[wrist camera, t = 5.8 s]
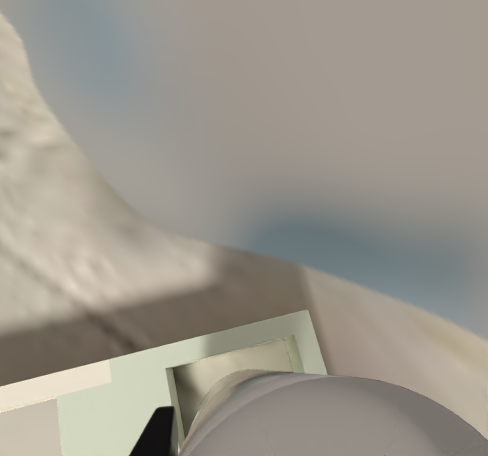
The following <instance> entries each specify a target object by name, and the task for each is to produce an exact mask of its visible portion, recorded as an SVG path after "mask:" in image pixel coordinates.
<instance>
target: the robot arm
mask: <svg viewBox="0 0 488 456" xmlns="http://www.w3.org/2000/svg"><path fill="white" fill-rule="evenodd" d="M129 456H178V426H177V418H176V410H175V407H174V406H162V407H158V408H156V409H155V411H154V412H153V414H152V416H151V418H150V419H149V421H148V423H147V425H146V426H145V428H144V430H143V432H142V433H141V435H140V437H139V439H138V440H137V442H136V444H135V446H134V447H133V449H132V451H131V453H130V454H129Z"/></svg>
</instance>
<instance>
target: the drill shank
mask: <svg viewBox="0 0 488 456" xmlns="http://www.w3.org/2000/svg"><path fill="white" fill-rule="evenodd" d="M178 456H488V440H487V439H486V438H485V437H484V436H482V435H481V434H480V433H479V432H478V431H477V430H476V429H475V428H474V427H472V426H471V425H470V424H468V423H467V422H466V421H464V420H463V419H462V418H460V417H459V416H457V415H456V414H455V413H453V412H452V411H450V410H449V409H447V408H445V407H443V406H442V405H440V404H438V403H436V402H435V401H433V400H431V399H430V398H428V397H426V396H423V395H421V394H418V393H416V392H414V391H411V390H409V389H406V388H404V387H401V386H397V385H394V384H390V383H386V382H382V381H379V380H372V379H365V378H357V377H347V376H334V375H321V374H308V373H296V372H283V371H270V370H257V369H247V370H241V371H237V372H234V373H232V374H230V375H227V376H226V377H224V378H222V379H221V380H220V381H218V382H217V383H216V384H215V385H214V386H213V387H212V388H211V389H210V390H209V392H208V393H207V394H206V396H205V397H204V399H203V401H202V403H201V405H200V407H199V409H198V411H197V414H196V416H195V418H194V420H193V423H192V425H191V427H190V429H189V432H188V434H187V436H186V438H185V441H184V443H183V445H182V447H181V449H180V452H179V454H178Z"/></svg>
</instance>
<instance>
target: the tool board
mask: <svg viewBox="0 0 488 456" xmlns="http://www.w3.org/2000/svg"><path fill="white" fill-rule="evenodd" d="M281 339H284V340H285V343H286V347H287V351H288V354H289V358H290V362H291V365H292V369H293V372H296V373H308V374H321V375H327V371H326V368H325V365H324V361H323V358H322V355H321V351H320V348H319V344H318V341H317V338H316V334H315V331H314V328H313V324H312V321H311V318H310V314H309V311H308V309H306V310H302V311H298V312H294V313H290V314H286V315H282V316H278V317H274V318H270V319H266V320H262V321H258V322H254V323H250V324H247V325H243V326H239V327H235V328H231V329H227V330H223V331H219V332H215V333H211V334H207V335H203V336H199V337H195V338H191V339H187V340H183V341H179V342H175V343H171V344H167V345H163V346H159V347H155V348H151V349H147V350H143V351H139V352H135V353H132V354H128V355H124V356H120V357H116V358H112V359H108V360H104V361H100V362H96V363H92V364H88V365H84V366H80V367H76V368H72V369H68V370H64V371H60V372H56V373H52V374H48V375H44V376H40V377H36V378H32V379H28V380H24V381H20V382H17V383H13V384H9V385H5V386H1V387H0V413H1V412H5V411H9V410H13V409H16V408H20V407H24V406H28V405H32V404H36V403H39V402H43V401H47V400H51V399H55V398H56V399H57V410H58V421H59V431H60V442H61V453H62V456H129V454H130V453H131V451H132V449H133V447H134V446H135V444H136V442H137V440H138V439H139V437H140V435H141V433H142V432H143V430H144V428H145V426H146V425H147V423H148V421H149V419H150V418H151V416H152V414H153V412H154V411H155V409H156V408H158V407H162V406H174V407H175V410H176V418H177V426H178V454H179V452H180V449H181V447H182V445H183V443H184V441H185V435H184V429H183V424H182V418H181V413H180V407H179V402H178V396H177V391H176V385H175V380H174V374H173V369H172V368H174V367H177V366H181V365H185V364H189V363H193V362H197V361H200V360H204V359H208V358H212V357H216V356H220V355H223V354H227V353H231V352H235V351H239V350H243V349H246V348H250V347H254V346H258V345H262V344H266V343H269V342H273V341H277V340H281Z"/></svg>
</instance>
